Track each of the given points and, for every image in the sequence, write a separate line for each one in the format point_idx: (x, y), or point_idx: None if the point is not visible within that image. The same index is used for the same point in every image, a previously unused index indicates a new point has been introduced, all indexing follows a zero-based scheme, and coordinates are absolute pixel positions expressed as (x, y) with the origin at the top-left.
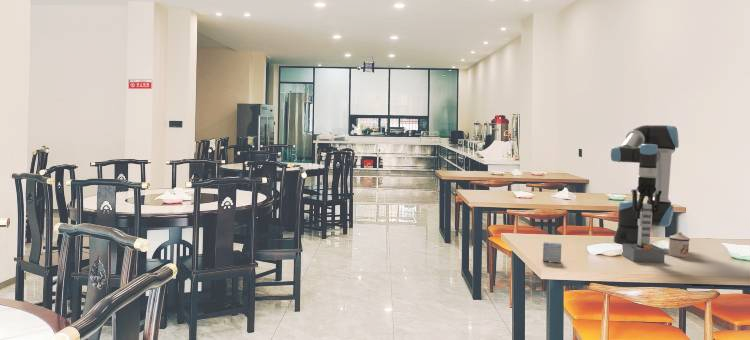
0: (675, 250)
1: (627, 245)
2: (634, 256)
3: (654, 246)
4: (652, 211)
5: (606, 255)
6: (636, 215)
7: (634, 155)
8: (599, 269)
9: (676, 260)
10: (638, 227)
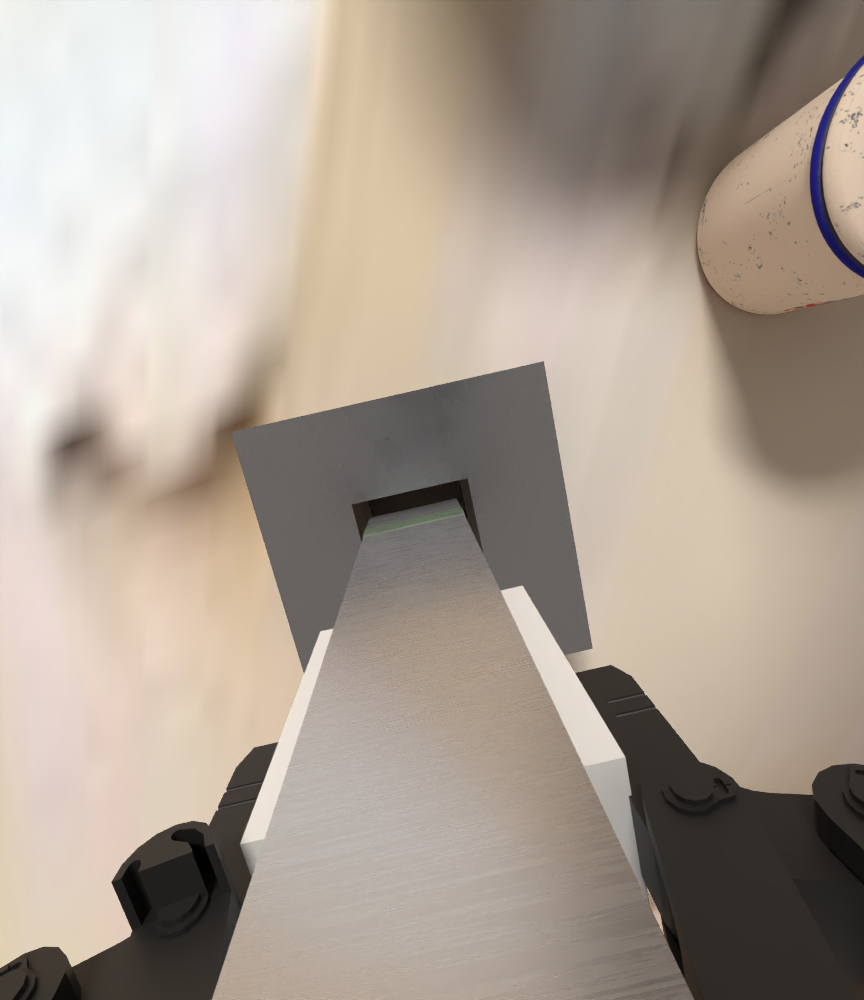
0: (763, 291)
1: (270, 544)
2: None
3: (539, 492)
4: (675, 944)
5: (136, 476)
6: (226, 823)
7: None
8: (90, 951)
9: (683, 465)
10: (348, 592)
